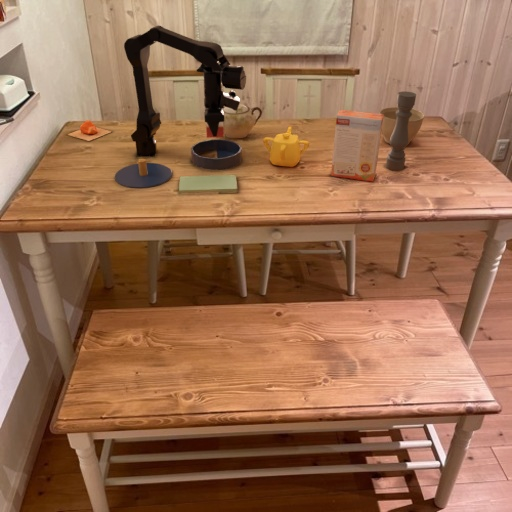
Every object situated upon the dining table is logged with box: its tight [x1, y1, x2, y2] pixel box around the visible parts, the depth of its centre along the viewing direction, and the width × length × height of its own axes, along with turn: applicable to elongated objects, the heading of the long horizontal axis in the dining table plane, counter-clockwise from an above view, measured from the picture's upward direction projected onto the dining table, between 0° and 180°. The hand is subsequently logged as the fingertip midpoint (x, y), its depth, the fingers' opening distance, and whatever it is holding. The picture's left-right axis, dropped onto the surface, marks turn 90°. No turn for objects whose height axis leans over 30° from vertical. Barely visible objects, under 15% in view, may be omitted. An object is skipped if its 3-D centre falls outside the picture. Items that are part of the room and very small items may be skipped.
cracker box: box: [330, 109, 384, 183], centre depth 166 cm, size 14×6×21 cm, turn 71°
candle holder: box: [385, 91, 417, 172], centre depth 171 cm, size 6×6×25 cm
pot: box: [190, 138, 243, 171], centre depth 180 cm, size 17×17×4 cm
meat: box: [205, 122, 225, 139], centre depth 172 cm, size 6×4×4 cm
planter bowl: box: [379, 106, 425, 145], centre depth 194 cm, size 16×16×11 cm
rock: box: [66, 120, 112, 142], centre depth 200 cm, size 12×12×4 cm
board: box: [178, 174, 238, 194], centre depth 164 cm, size 18×10×2 cm, turn 94°
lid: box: [114, 158, 173, 189], centre depth 168 cm, size 18×18×6 cm
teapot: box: [262, 125, 310, 168], centre depth 178 cm, size 14×13×10 cm
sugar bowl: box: [223, 103, 263, 139], centre depth 197 cm, size 20×15×15 cm
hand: (214, 133), depth 173 cm, fingers closed on meat, 4 cm apart
